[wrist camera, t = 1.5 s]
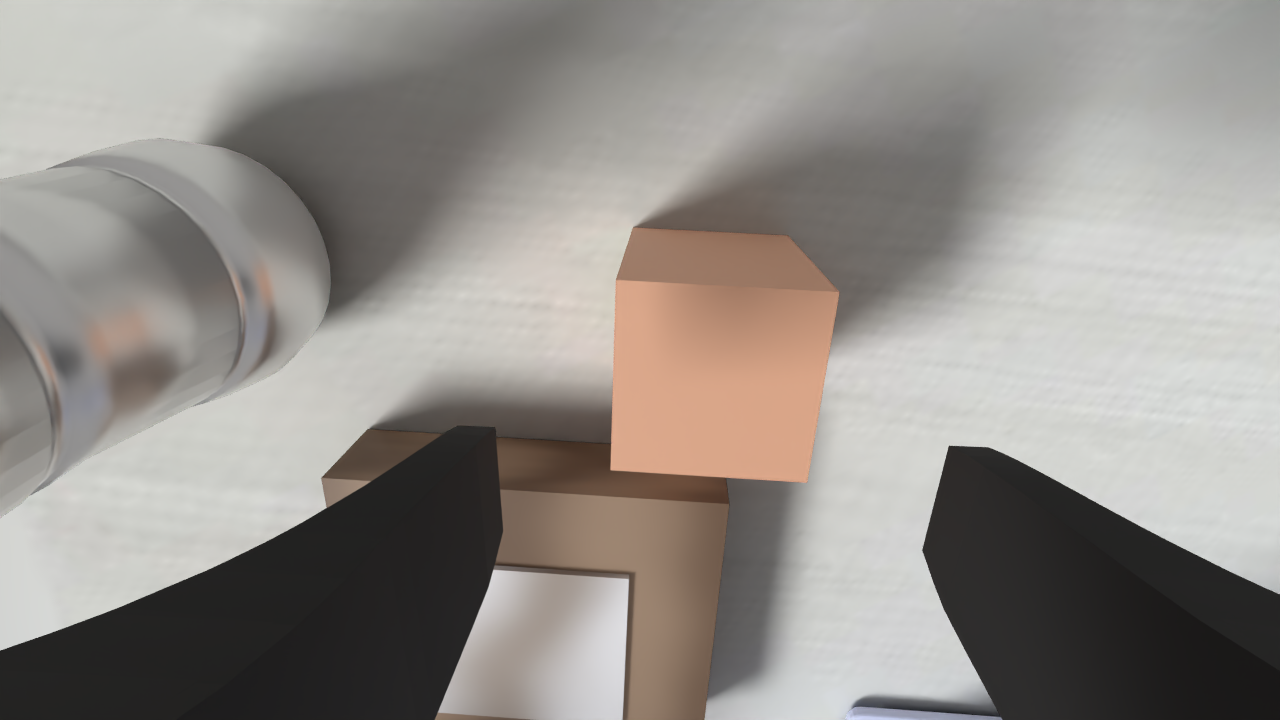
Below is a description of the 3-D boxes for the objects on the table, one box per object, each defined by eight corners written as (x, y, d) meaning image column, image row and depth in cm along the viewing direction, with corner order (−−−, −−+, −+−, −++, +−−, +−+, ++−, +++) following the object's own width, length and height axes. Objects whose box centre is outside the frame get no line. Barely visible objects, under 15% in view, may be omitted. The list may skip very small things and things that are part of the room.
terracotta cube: (787, 235, 18) (839, 292, 12) (769, 376, 20) (806, 482, 14) (633, 227, 18) (616, 280, 13) (627, 368, 20) (610, 470, 14)
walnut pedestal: (721, 450, 21) (729, 508, 18) (694, 707, 25) (697, 786, 22) (367, 429, 21) (317, 481, 18) (403, 685, 26) (368, 761, 23)
